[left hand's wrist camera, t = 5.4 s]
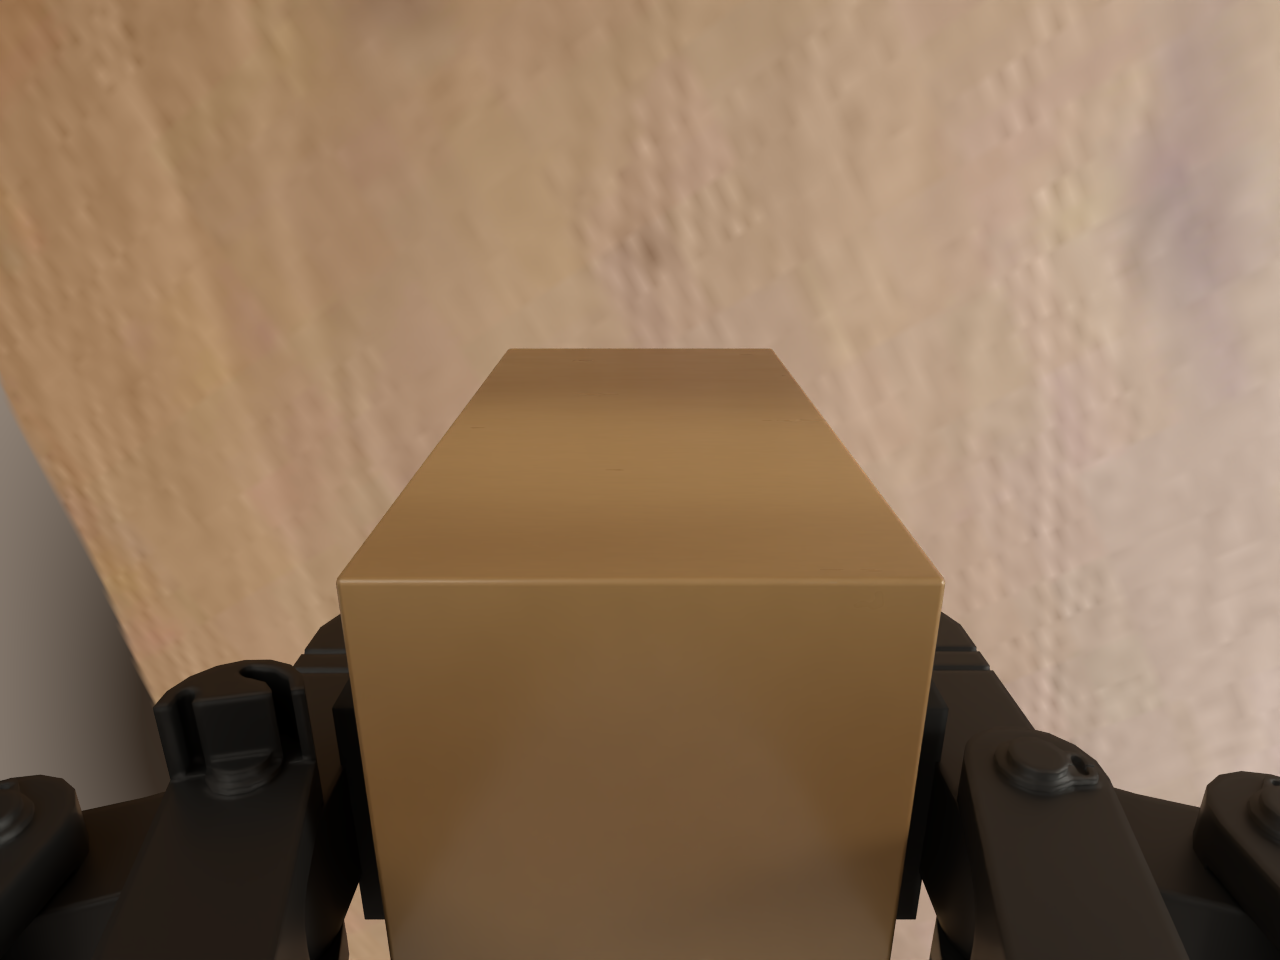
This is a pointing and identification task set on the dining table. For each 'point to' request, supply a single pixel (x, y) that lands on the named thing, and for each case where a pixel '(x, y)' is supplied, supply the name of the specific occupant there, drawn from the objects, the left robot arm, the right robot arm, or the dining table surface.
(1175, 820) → the left robot arm
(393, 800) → the bar
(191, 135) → the dining table surface
